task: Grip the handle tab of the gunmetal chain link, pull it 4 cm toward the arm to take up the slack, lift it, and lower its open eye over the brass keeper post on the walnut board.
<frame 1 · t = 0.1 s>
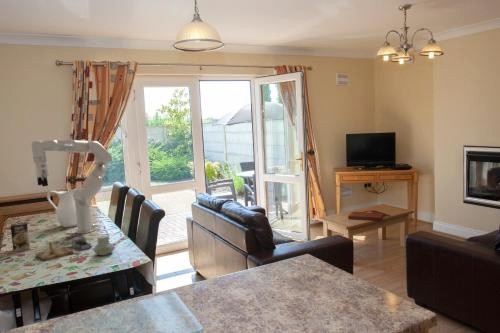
hand: (42, 185, 256), 37 cm above the table, tool pointing down, fingers open, 9 cm apart
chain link: (81, 247, 239), on the table
pitcher: (66, 225, 297), on the table
air freshener: (104, 254, 224), on the table
coffee box: (22, 249, 242), on the table
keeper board: (54, 254, 227), on the table
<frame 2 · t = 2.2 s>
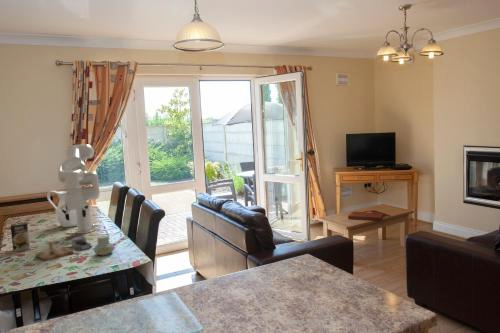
hand: (76, 218, 239), 18 cm above the table, tool pointing down, fingers open, 9 cm apart
nothing on the table moved.
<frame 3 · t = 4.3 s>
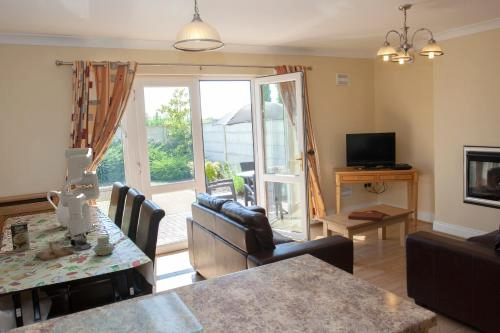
hand: (79, 244, 242), 1 cm above the table, tool pointing down, fingers closed on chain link, 6 cm apart
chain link: (81, 247, 239), on the table, touching gripper
everything else where it was.
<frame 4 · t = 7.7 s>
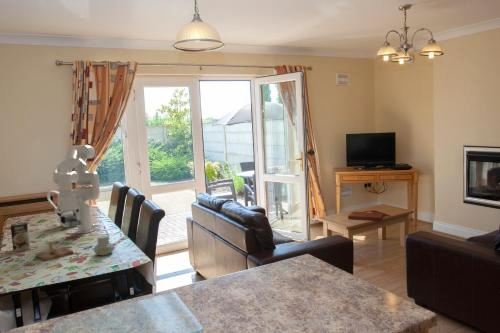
hand: (69, 221, 240), 16 cm above the table, tool pointing down, fingers closed on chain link, 6 cm apart
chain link: (71, 224, 237), point 15 cm above the table, touching gripper
everything else where it was.
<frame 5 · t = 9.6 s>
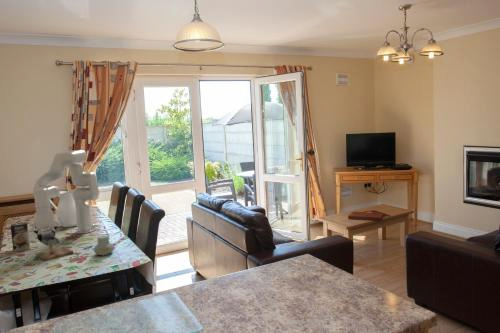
hand: (46, 239, 228), 9 cm above the table, tool pointing down, fingers closed on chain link, 6 cm apart
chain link: (48, 242, 225), point 8 cm above the table, touching gripper
everything else where it was.
when the fingers open (4 cm above the table, at t = 11.1 s): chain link drops 1 cm, resting on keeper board.
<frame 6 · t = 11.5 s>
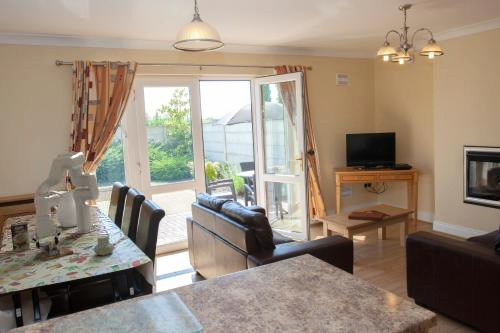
hand: (47, 246, 228), 5 cm above the table, tool pointing down, fingers open, 9 cm apart
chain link: (50, 252, 226), point 1 cm above the table, touching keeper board
everything else where it was.
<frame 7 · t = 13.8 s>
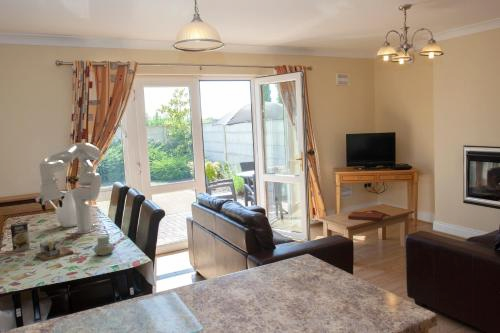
hand: (52, 208, 243), 24 cm above the table, tool pointing down, fingers open, 9 cm apart
nothing on the table moved.
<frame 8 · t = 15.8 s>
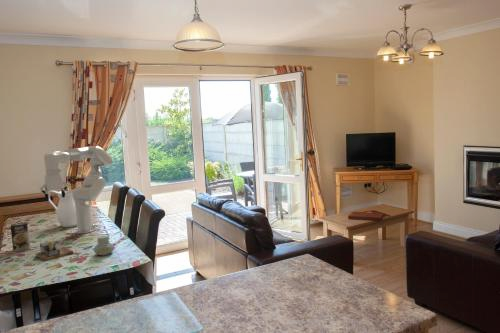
hand: (55, 198, 252), 28 cm above the table, tool pointing down, fingers open, 9 cm apart
nothing on the table moved.
at the end: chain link 0.1 cm from the target spot on the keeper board, point 1.5 cm above the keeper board's base; the gripper is holding nothing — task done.
